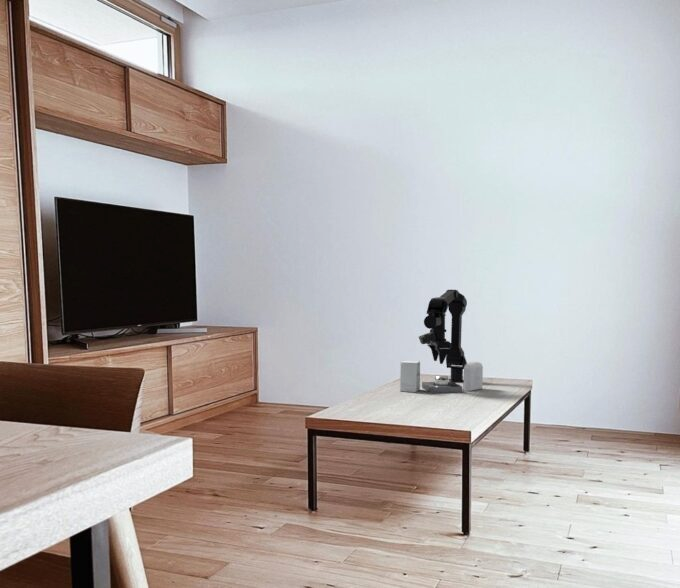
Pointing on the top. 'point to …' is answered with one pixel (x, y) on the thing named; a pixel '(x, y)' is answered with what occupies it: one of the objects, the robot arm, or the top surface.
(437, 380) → the lens
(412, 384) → the supplement box
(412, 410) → the top surface
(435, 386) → the mount plate
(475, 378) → the photo printer
